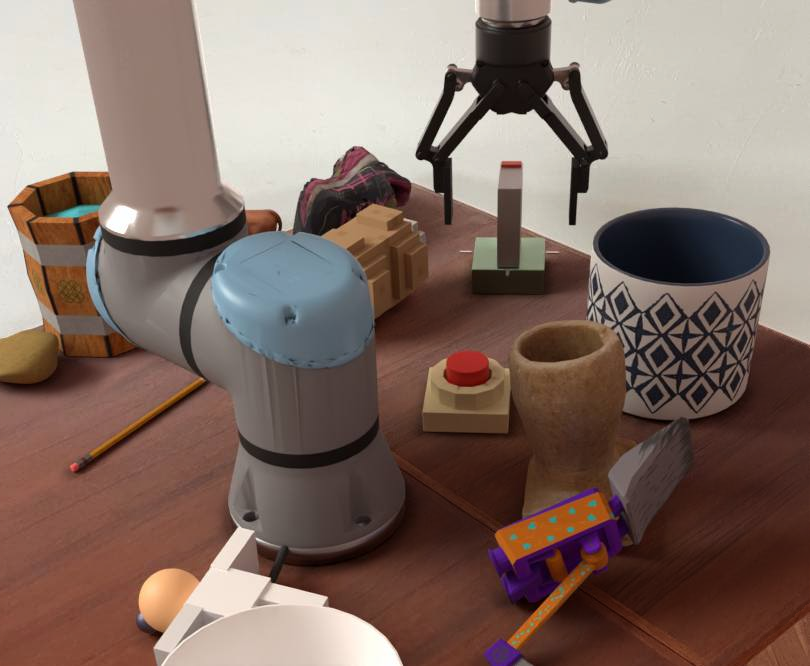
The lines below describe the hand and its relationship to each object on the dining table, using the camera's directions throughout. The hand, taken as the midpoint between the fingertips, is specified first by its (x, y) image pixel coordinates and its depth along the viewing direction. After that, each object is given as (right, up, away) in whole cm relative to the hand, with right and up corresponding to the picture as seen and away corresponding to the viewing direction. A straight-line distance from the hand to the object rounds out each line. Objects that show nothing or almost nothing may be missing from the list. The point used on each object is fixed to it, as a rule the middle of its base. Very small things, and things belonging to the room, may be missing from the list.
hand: (510, 220), depth 124 cm
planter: (+14, -20, -13) cm, 27 cm away
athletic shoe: (-24, +6, +13) cm, 28 cm away
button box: (-6, -23, -16) cm, 28 cm away
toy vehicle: (+1, -32, -37) cm, 49 cm away
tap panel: (0, -5, +4) cm, 7 cm away
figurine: (-18, -43, -42) cm, 62 cm away
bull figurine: (-33, -4, +8) cm, 34 cm away
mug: (-41, -11, 0) cm, 43 cm away
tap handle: (0, -3, +2) cm, 4 cm away
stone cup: (+3, -32, -27) cm, 42 cm away
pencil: (-37, -24, -15) cm, 46 cm away
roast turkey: (-16, -10, 0) cm, 19 cm away
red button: (-6, -20, -18) cm, 27 cm away
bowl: (-19, -52, -49) cm, 74 cm away
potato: (-50, -14, -6) cm, 52 cm away
